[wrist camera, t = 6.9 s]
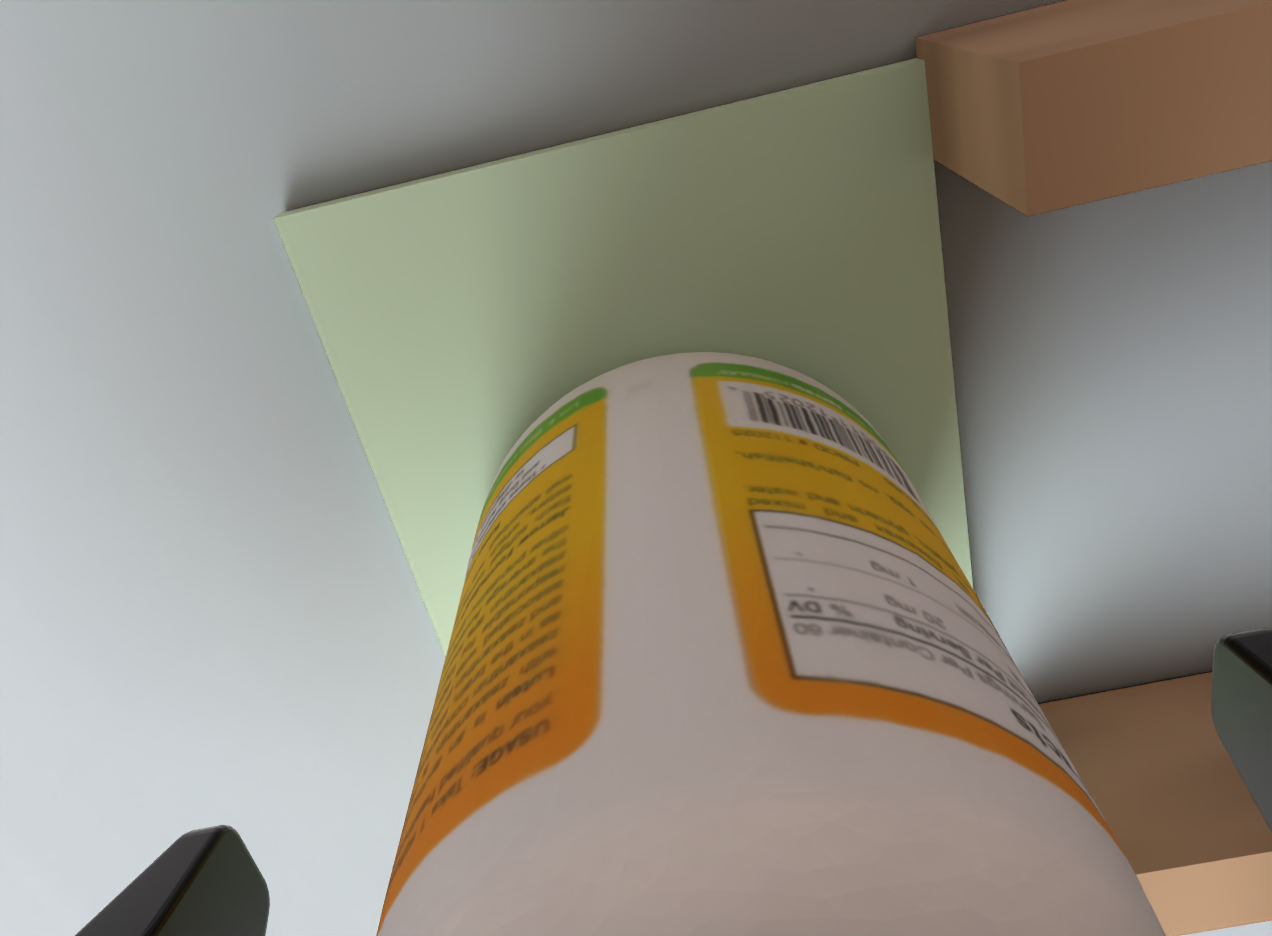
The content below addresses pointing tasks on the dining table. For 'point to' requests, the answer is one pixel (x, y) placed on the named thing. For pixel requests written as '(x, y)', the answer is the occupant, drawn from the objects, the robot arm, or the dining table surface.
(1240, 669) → the robot arm
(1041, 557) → the dining table surface
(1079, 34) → the walnut trough
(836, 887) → the supplement bottle
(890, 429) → the pad
